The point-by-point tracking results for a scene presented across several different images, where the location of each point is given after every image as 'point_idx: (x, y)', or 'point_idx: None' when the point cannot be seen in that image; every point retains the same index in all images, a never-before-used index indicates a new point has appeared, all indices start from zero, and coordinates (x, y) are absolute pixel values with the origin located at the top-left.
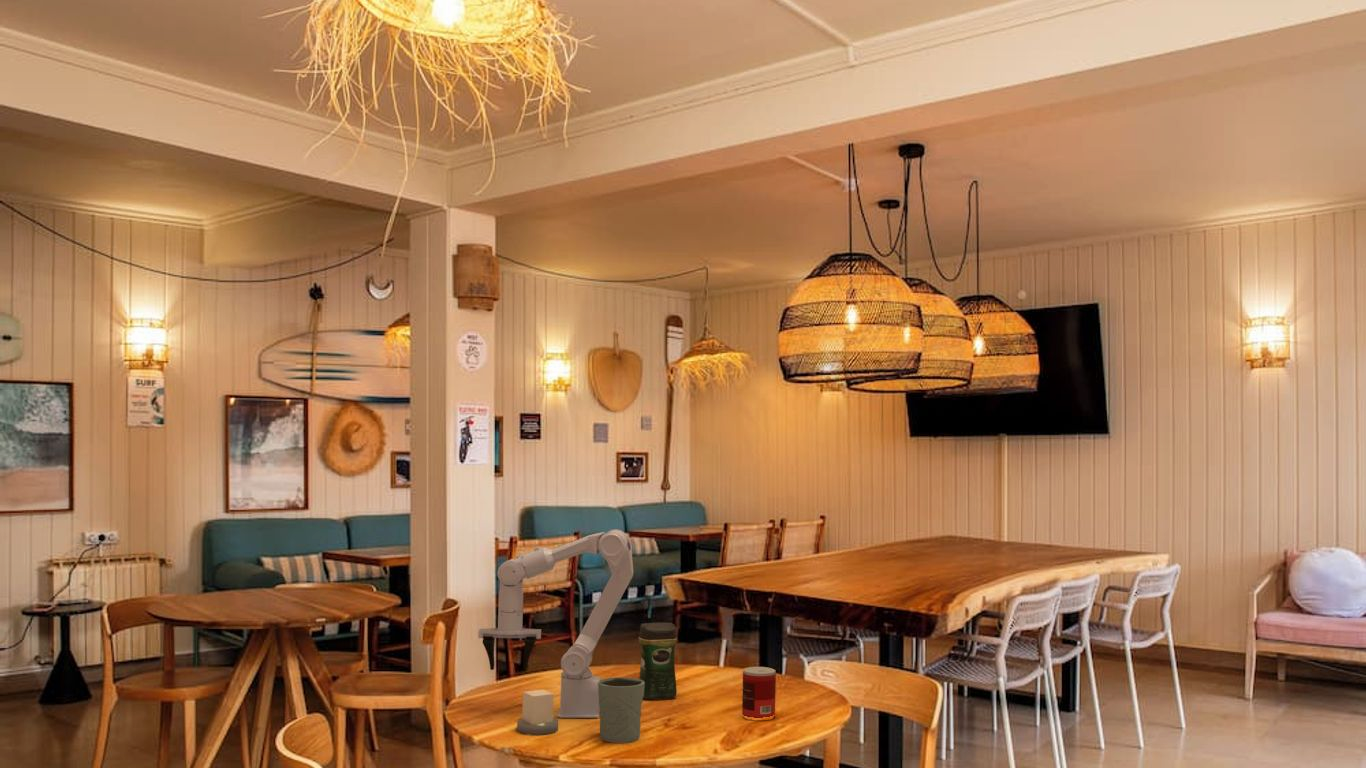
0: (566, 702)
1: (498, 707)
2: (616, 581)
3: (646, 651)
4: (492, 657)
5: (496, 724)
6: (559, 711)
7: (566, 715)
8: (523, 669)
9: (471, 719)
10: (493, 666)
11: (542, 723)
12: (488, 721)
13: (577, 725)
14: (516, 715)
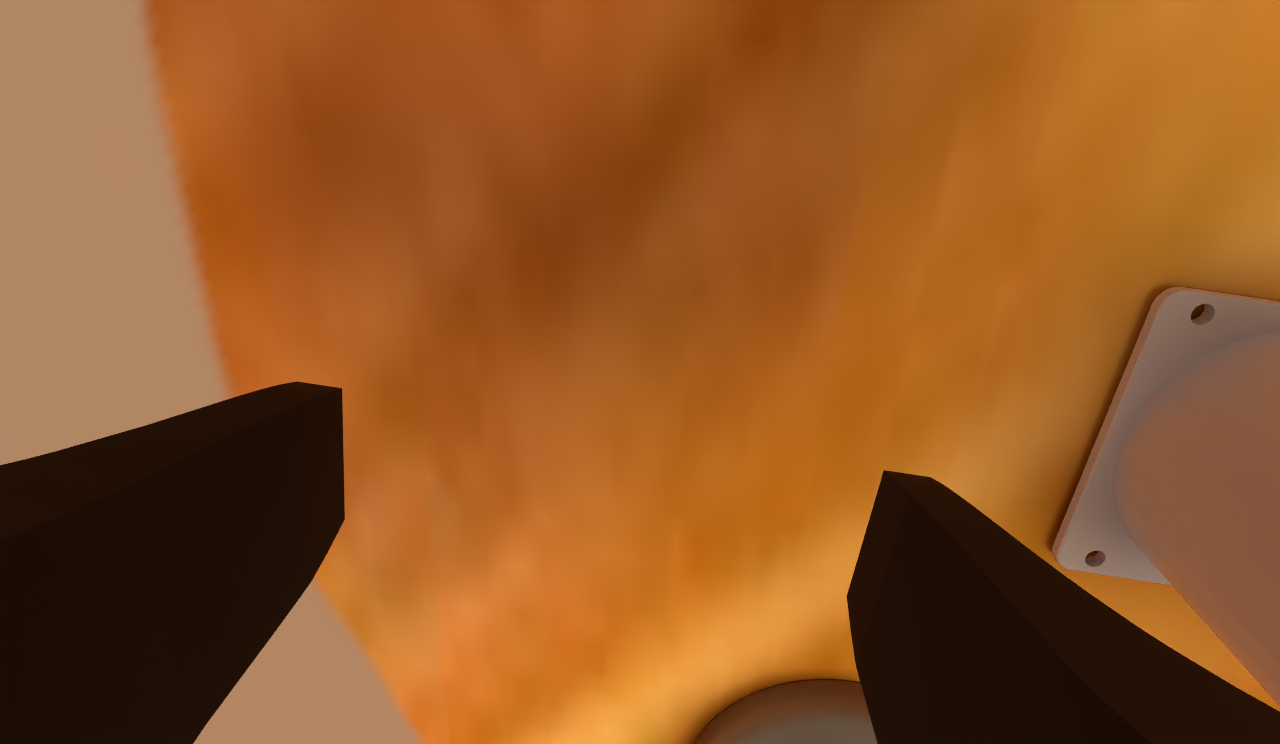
0: (1199, 615)
1: (567, 85)
2: None
3: None
4: (204, 718)
5: (552, 629)
6: (1117, 436)
7: (1130, 568)
8: (849, 605)
9: (358, 479)
10: (319, 541)
11: None
12: (492, 549)
13: None
14: (719, 411)
